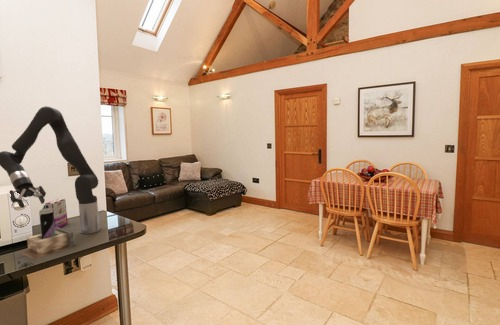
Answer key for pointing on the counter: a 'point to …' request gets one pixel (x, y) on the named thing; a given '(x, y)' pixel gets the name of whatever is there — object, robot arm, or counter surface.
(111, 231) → the counter surface
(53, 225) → the spray can
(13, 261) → the counter surface
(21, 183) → the robot arm
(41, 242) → the socket block
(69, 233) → the backstop board
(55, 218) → the candy bar box
